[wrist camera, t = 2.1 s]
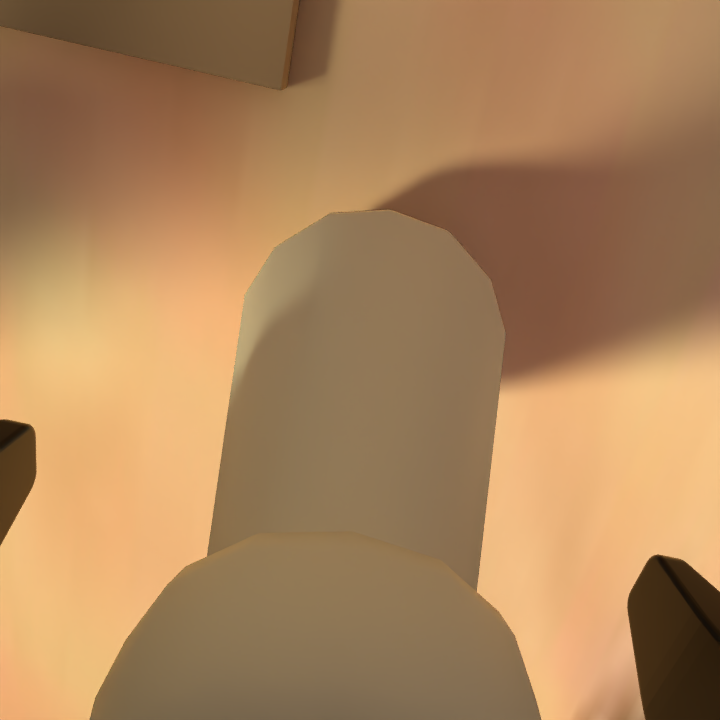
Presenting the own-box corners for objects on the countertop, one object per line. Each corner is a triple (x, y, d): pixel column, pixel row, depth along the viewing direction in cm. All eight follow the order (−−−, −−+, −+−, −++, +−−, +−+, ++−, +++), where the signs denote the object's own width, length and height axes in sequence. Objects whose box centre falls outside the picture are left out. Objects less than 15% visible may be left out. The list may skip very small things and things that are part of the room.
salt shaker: (422, 138, 15) (478, 532, 3) (529, 337, 17) (792, 1010, 5) (217, 261, 17) (-223, 810, 5) (337, 429, 19) (223, 1095, 7)
